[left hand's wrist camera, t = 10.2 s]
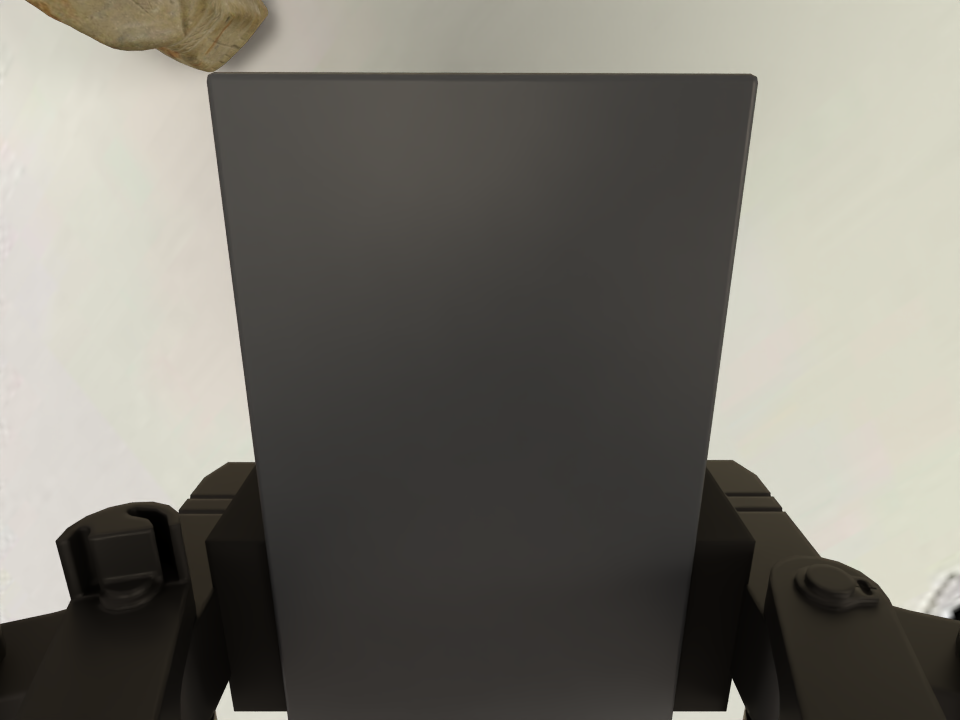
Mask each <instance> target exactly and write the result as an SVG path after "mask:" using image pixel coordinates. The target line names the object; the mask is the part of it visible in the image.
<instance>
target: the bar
mask: <svg viewBox="0 0 960 720" xmlns="http://www.w3.org/2000/svg"><path fill="white" fill-rule="evenodd" d="M757 86H758V81H757V77H756V76H754V75H752V74H666V73H344V72H213V73H211V74H209V75H208V77H207V87H208V95H209V102H210V110H211V118H212V126H213V134H214V142H215V149H216V157H217V165H218V173H219V181H220V189H221V197H222V204H223V212H224V220H225V228H226V236H227V244H228V251H229V259H230V267H231V275H232V283H233V291H234V298H235V306H236V314H237V322H238V330H239V338H240V346H241V353H242V361H243V369H244V377H245V385H246V393H247V400H248V408H249V416H250V424H251V432H252V440H253V447H254V455H255V463H256V471H257V479H258V487H259V494H260V502H261V510H262V518H263V526H264V534H265V542H266V549H267V557H268V565H269V573H270V581H271V589H272V596H273V604H274V612H275V620H276V628H277V636H278V643H279V651H280V659H281V667H282V675H283V683H284V691H285V698H286V706H287V714H288V720H672V715H673V707H674V700H675V692H676V685H677V678H678V670H679V663H680V655H681V648H682V641H683V633H684V626H685V618H686V611H687V604H688V596H689V589H690V581H691V574H692V567H693V559H694V552H695V544H696V537H697V530H698V522H699V515H700V508H701V500H702V493H703V485H704V478H705V471H706V463H707V456H708V448H709V441H710V434H711V426H712V419H713V411H714V404H715V397H716V389H717V382H718V374H719V367H720V360H721V352H722V345H723V337H724V330H725V323H726V315H727V308H728V300H729V293H730V286H731V278H732V271H733V263H734V256H735V249H736V241H737V234H738V227H739V219H740V212H741V204H742V197H743V190H744V182H745V175H746V167H747V160H748V153H749V145H750V138H751V130H752V123H753V116H754V108H755V101H756V93H757Z"/></svg>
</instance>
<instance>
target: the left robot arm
mask: <svg viewBox="0 0 960 720" xmlns="http://www.w3.org/2000/svg"><path fill="white" fill-rule="evenodd" d="M56 545H57V549H58V552H59V556H60V560H61V564H62V567H63V571H64V575H65V579H66V582H67V586H68V590H69V594H70V597H71V601H70V603H69V605H68V607H67V609H65V610H62V611H58V612H55V613H50V614H45V615H41V616H36V617H31V618H26V619H22V620H17V621H12V622H7V623H3V624H0V720H217V716H216V711H215V710H216V708H217V705H218V703H219V701H220V699H221V696H222V694H223V692H224V690H225V688H226V685H227V683H228V681H229V684H230V690H231V696H232V701H233V707H234V711H287V706H286V698H285V691H284V683H283V675H282V667H281V659H280V651H279V643H278V636H277V628H276V620H275V612H274V604H273V596H272V589H271V581H270V573H269V565H268V557H267V549H266V542H265V534H264V526H263V518H262V510H261V502H260V494H259V487H258V479H257V471H256V463H255V462H228V463H226V464H225V465H223V466H221V467H220V468H218V469H217V470H215V471H214V472H212V473H211V474H209V475H207V476H206V477H204V479H203V480H202V481H201V482H200V484H199V485H198V486H197V488H196V489H195V490H194V491H193V493H192V494H191V495H190V499H187V500H186V502H185V503H184V504H183V505H182V507H181V508H180V509H179V513H178V512H177V511H176V510H174V509H173V508H172V507H171V506H169V505H165V504H161V503H156V502H132V503H127V504H123V505H118V506H113V507H109V508H106V509H104V510H101V511H99V512H96V513H93V514H91V515H88V516H86V517H84V518H83V519H81V520H80V521H78V522H76V523H75V524H73V525H72V526H70V527H68V528H67V529H66V530H65V531H64V532H63V534H62V535H61V536H60V537H59V538H58V539H57V540H56ZM732 679H733V681H734V683H735V685H736V688H737V690H738V692H739V694H740V696H741V699H742V701H743V703H744V705H745V711H744V716H743V720H960V621H957V620H953V619H948V618H943V617H938V616H934V615H929V614H924V613H919V612H915V611H910V610H906V609H902V608H898V607H895V606H892V604H891V602H890V600H889V598H888V597H887V596H886V594H885V593H884V592H883V590H882V589H881V588H880V586H879V585H878V584H877V583H875V582H874V581H873V580H871V579H870V578H868V577H867V576H866V575H864V574H863V573H862V572H860V571H858V570H856V569H854V568H851V567H849V566H847V565H845V564H842V563H840V562H838V561H834V560H830V559H826V558H822V557H820V555H819V554H818V553H817V551H816V550H815V549H814V548H813V546H812V545H811V544H810V543H809V541H808V540H807V539H806V537H805V536H804V535H803V534H802V532H801V531H800V530H799V529H798V527H797V526H796V525H795V524H794V522H793V521H792V520H791V518H790V517H789V516H788V515H787V513H786V512H783V511H782V507H781V506H780V504H779V503H778V502H777V501H776V499H775V498H774V497H771V495H770V492H769V491H768V489H767V488H766V487H765V485H764V484H763V483H762V482H761V480H760V479H759V478H758V477H757V475H755V474H754V473H752V472H751V471H749V470H747V469H746V468H744V467H743V466H741V465H740V464H738V463H736V462H735V461H733V460H707V463H706V471H705V478H704V485H703V493H702V500H701V508H700V515H699V522H698V530H697V537H696V544H695V552H694V559H693V567H692V574H691V581H690V589H689V596H688V604H687V611H686V618H685V626H684V633H683V641H682V648H681V655H680V663H679V670H678V678H677V685H676V692H675V700H674V707H673V711H726V710H727V704H728V698H729V693H730V687H731V681H732Z"/></svg>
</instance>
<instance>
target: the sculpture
mask: <svg viewBox="0 0 960 720" xmlns="http://www.w3.org/2000/svg"><path fill="white" fill-rule="evenodd" d="M26 1H27V2H29V3H30V4H32V5H33V6H35V7H37V8H38V9H39V10H41V11H42V12H44V13H45V14H46V15H48V16H50V17H52V18H53V19H55V20H58V21H60V22H62V23H64V24H66V25H69V26H71V27H72V28H74V29H76V30H77V31H79V32H81V33H83V34H85V35H87V36H89V37H91V38H93V39H95V40H97V41H98V42H100V43H102V44H105V45H107V46H109V47H111V48H114V49H119V50H126V51H142V50H149V49H154V48H156V49H157V50H159V51H161V52H162V53H164V54H165V55H167V56H169V57H171V58H173V59H175V60H176V61H178V62H181V63H183V64H185V65H188V66H190V67H193V68H196V69H199V70H202V71H206V72H214V71H215V70H217V69H219V68H220V67H221V66H223V65H224V64H225V63H226V62H227V61H228V60H229V59H230V58H231V57H233V56H234V55H235V54H236V53H237V52H238V51H239V50H240V49H241V48H242V47H243V46H244V45H245V43H246V42H247V41H248V40H249V39H250V37H251V36H252V35H253V34H254V32H255V31H256V30H257V28H258V27H259V26H260V24H261V23H262V22H263V20H264V19H265V18H266V17H267V15H268V10H267V8H266V6H265V5H264V4H263V2H262V1H261V0H26Z"/></svg>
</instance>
